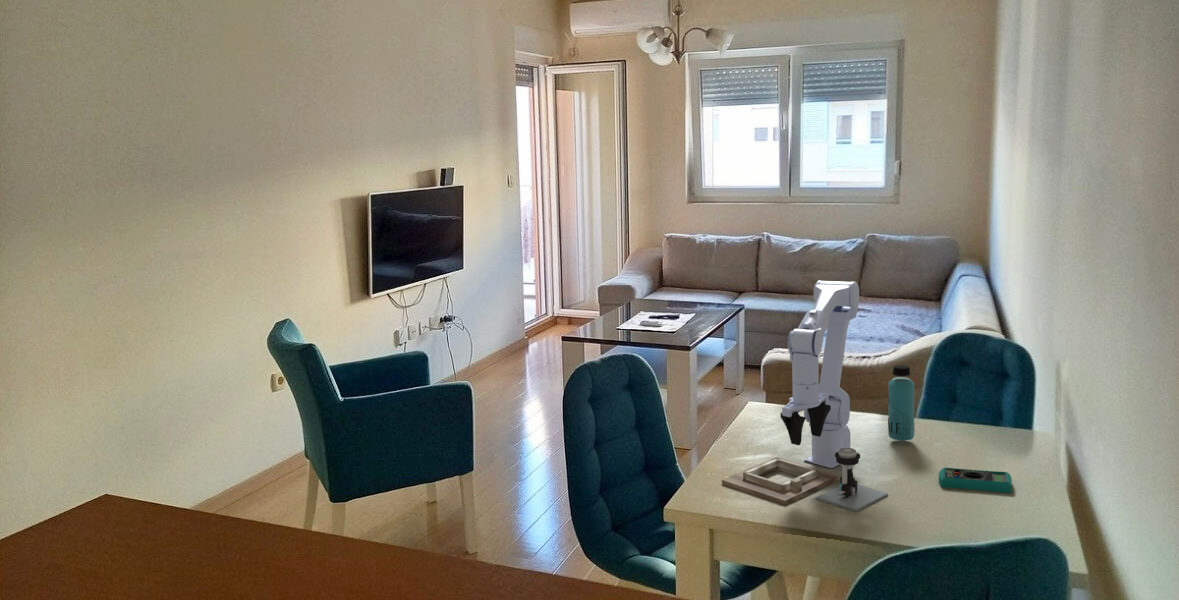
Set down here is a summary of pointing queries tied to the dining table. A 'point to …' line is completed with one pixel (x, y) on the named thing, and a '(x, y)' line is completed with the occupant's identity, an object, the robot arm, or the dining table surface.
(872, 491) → the rubber mat
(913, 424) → the beverage bottle
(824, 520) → the dining table surface
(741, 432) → the dining table surface
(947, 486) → the digital multimeter
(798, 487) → the brown flat rectangular frame
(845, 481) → the push button
